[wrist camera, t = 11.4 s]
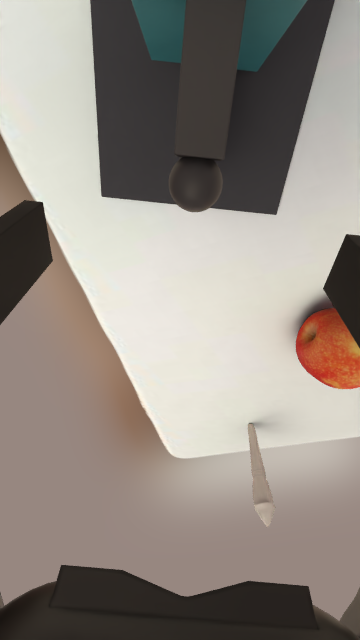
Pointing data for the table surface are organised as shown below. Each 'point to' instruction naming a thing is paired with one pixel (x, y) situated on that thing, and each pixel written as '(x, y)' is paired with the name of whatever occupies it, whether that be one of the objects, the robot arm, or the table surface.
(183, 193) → the iron
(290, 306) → the table surface
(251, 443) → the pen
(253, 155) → the ironing mat
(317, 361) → the apple
